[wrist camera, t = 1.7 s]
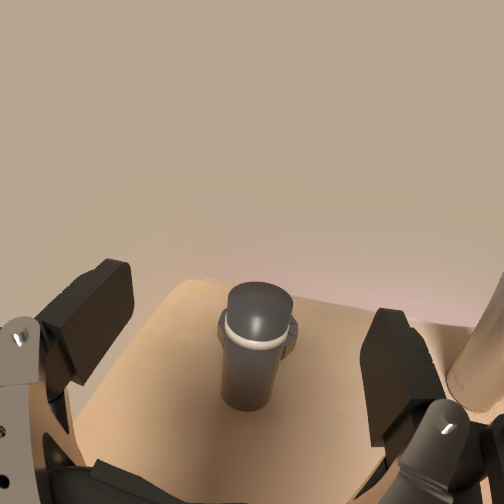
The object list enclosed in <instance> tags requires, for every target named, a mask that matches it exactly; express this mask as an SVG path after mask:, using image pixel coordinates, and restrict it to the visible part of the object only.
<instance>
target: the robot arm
mask: <svg viewBox="0 0 504 504" xmlns="http://www.w3.org/2000/svg"><path fill="white" fill-rule="evenodd" d="M133 310H134V296H133V287H132V276H131V268H130V265H129V264H128V263H126V262H122V261H118V260H113V259H105V260H104V261H103V262H102V263H101V264H100V265H98V266H97V267H96V268H95V269H94V270H91V271H88V272H86V273H84V274H82V275H80V276H79V277H77V278H76V279H75V280H74V281H73V282H72V283H71V284H70V286H68V287H66V288H65V289H64V290H63V291H62V294H61V293H60V294H59V295H58V296H57V297H56V298H55V299H54V300H53V301H52V302H50V303H49V304H48V305H47V307H46V308H44V309H43V310H42V311H41V312H40V313H39V314H38V315H37V316H36V317H35V318H32V317H26V316H24V317H17V318H14V319H12V320H10V321H9V322H7V323H6V324H5V325H4V326H3V327H0V504H203V503H187V502H184V501H181V500H179V499H178V498H176V497H174V496H172V495H170V494H168V493H167V492H165V491H163V490H161V489H160V488H158V487H156V486H155V485H153V484H151V483H150V482H148V481H146V480H145V479H143V478H142V477H140V476H138V475H135V474H132V473H130V472H127V471H125V470H122V469H120V468H117V467H115V466H112V465H110V464H108V463H106V462H103V461H101V460H99V459H97V460H96V462H95V464H94V466H93V467H87V466H86V465H85V462H84V459H83V456H82V454H81V452H80V450H79V448H78V445H77V443H76V439H75V434H74V428H73V422H72V416H71V409H70V401H69V393H68V389H67V387H66V386H67V385H68V383H69V382H70V381H73V382H75V383H77V384H79V385H81V386H84V384H85V383H86V381H87V380H88V378H89V377H90V375H91V374H92V372H93V371H94V369H95V368H96V367H97V365H98V364H99V362H100V360H101V359H102V358H103V356H104V355H105V354H106V352H107V351H108V349H109V348H110V346H111V345H112V344H113V342H114V341H115V339H116V338H117V336H118V335H119V334H120V332H121V331H122V330H123V328H124V327H125V325H126V324H127V323H128V321H129V320H130V318H131V316H132V314H133ZM428 352H429V350H428V348H427V346H426V343H425V341H424V339H423V338H422V336H421V335H420V334H419V333H418V332H417V331H416V330H415V329H414V328H411V327H410V326H409V324H408V321H407V319H406V317H405V315H404V312H403V311H401V310H393V309H386V308H379V309H378V310H377V312H376V314H375V317H374V319H373V321H372V324H371V326H370V328H369V331H368V333H367V335H366V338H365V340H364V342H363V344H362V347H361V352H360V366H361V372H362V379H363V385H364V392H365V399H366V406H367V414H368V422H369V431H370V440H371V447H385V455H384V456H383V457H382V458H381V459H380V461H379V462H378V464H377V465H376V466H375V468H374V469H373V471H372V472H371V473H370V475H369V476H368V477H367V479H366V480H365V481H364V482H363V484H362V485H361V486H360V488H359V489H358V490H357V491H356V493H355V494H354V495H353V496H352V497H351V499H350V500H349V501H348V502H347V503H346V504H483V502H482V494H481V487H480V482H481V481H482V480H484V479H485V478H486V477H488V479H489V484H490V491H491V497H492V504H504V414H501V415H499V416H497V417H496V418H495V419H494V420H493V421H492V422H491V423H490V425H486V424H481V423H477V422H473V421H470V419H469V416H468V414H467V413H466V411H465V410H464V408H463V407H462V406H464V407H465V408H467V409H469V410H471V411H475V412H485V411H487V410H490V409H491V408H492V407H493V406H494V405H495V403H496V402H497V401H500V400H501V398H502V397H503V396H504V272H503V274H502V277H501V279H500V281H499V284H498V286H497V288H496V290H495V292H494V294H493V296H492V298H491V300H490V302H489V304H488V306H487V308H486V310H485V312H484V314H483V316H482V318H481V319H480V321H479V323H478V325H477V326H476V328H475V330H474V332H473V333H472V335H471V337H470V338H469V340H468V342H467V343H466V345H465V347H464V348H463V350H462V351H461V353H460V354H459V356H458V358H457V359H456V361H455V362H454V364H453V365H452V367H451V368H450V370H449V372H448V374H447V384H448V387H449V390H450V392H451V394H452V395H453V397H454V398H455V399H456V400H457V401H458V402H459V403H460V404H461V405H462V406H460V405H459V404H458V403H456V402H454V401H452V400H449V399H447V398H446V395H445V392H444V390H443V387H442V384H441V381H440V379H439V376H438V373H437V371H436V368H435V365H434V363H432V362H433V360H432V358H431V355H430V353H428ZM224 504H246V503H224Z"/></svg>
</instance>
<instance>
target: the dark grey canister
mask: <svg viewBox="0 0 504 504" xmlns="http://www.w3.org/2000/svg"><path fill="white" fill-rule="evenodd" d="M292 308H293V301H292V298H291V297H290V295H289V294H288V293H287V292H286V291H285V290H283V289H282V288H280V287H277V286H275V285H273V284H269V283H265V282H246V283H242V284H239V285H237V286H235V287H234V288H233V289H232V290H231V291H230V293H229V295H228V306H227V313H226V316H225V343H224V357H223V371H222V385H221V395H222V398H223V399H224V401H225V402H226V403H227V404H228V405H229V406H230V407H232V408H234V409H236V410H239V411H246V412H249V411H255V410H258V409H260V408H262V407H263V406H264V405H266V403H267V402H268V400H269V397H270V394H271V390H272V387H273V383H274V379H275V376H276V372H277V368H278V364H279V360H280V357H281V353H282V349H283V345H284V341H285V339H286V337H287V334H288V330H289V321H290V317H291V312H292Z"/></svg>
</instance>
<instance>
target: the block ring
mask: <svg viewBox="0 0 504 504" xmlns="http://www.w3.org/2000/svg"><path fill="white" fill-rule="evenodd" d="M226 313H227V308H226V309H224V310H223V311H222V314H221V317H220V320H219V322H218V337H219V340H220V342H221V344H222V346H223V349H224V343H225V316H226ZM297 332H298V324H297V322H296V320H295V319H294V318H293V316H292V315H291V317H290V321H289V330H288V334H287V337H286V339H285V341H284V345H283V349H282V353H281V357H280V360H282V359H284V358H285V357H286V356H287V355H288V354H289V353H290V352H291V351H292V350H293V349H294V346H295V343H296V339H297Z"/></svg>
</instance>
